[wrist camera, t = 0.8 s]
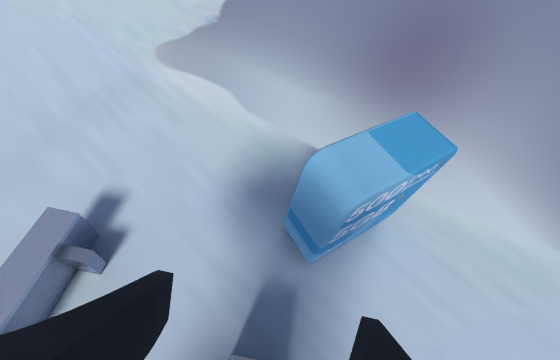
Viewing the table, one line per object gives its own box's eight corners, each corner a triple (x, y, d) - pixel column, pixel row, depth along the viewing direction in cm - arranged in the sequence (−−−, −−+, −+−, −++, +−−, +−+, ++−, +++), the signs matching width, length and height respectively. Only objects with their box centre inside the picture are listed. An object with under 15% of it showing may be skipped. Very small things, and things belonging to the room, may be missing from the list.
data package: (304, 268, 25) (351, 206, 15) (279, 228, 27) (307, 151, 17) (390, 215, 30) (467, 143, 20) (364, 185, 32) (422, 106, 22)
